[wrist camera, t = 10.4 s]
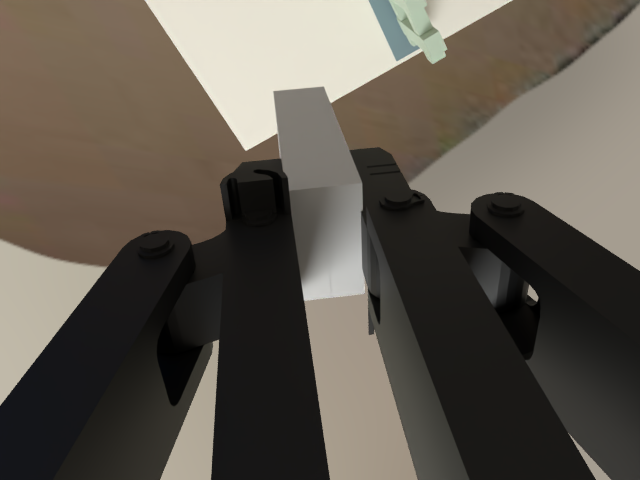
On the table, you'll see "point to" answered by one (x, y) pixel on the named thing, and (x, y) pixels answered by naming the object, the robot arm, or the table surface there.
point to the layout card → (294, 48)
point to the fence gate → (419, 28)
